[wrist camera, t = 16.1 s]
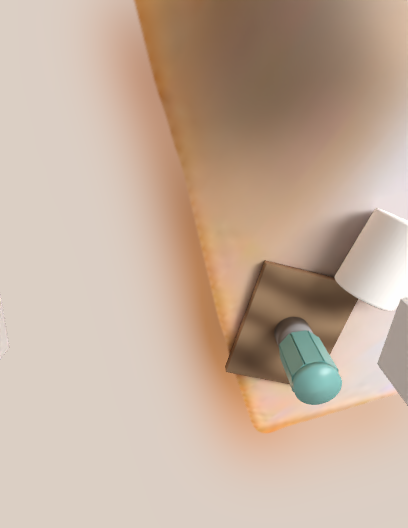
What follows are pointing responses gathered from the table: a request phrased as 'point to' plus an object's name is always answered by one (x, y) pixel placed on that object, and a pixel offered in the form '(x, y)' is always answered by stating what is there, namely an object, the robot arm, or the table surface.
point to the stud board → (283, 304)
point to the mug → (378, 262)
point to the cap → (309, 368)
